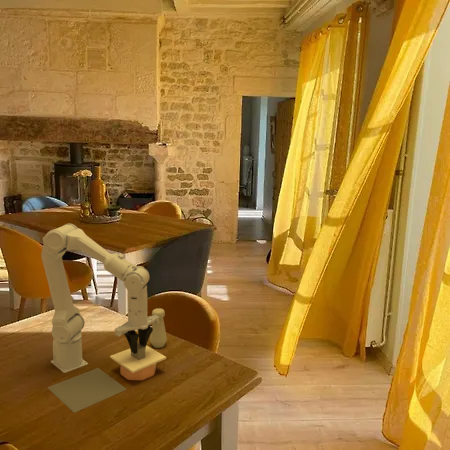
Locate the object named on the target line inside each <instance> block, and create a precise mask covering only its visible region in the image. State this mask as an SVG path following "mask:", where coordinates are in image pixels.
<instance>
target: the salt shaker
mask: <svg viewBox="0 0 450 450" xmlns="http://www.w3.org/2000/svg"><path fill="white" fill-rule="evenodd" d="M154 315H157V316H159V323H153V324H151V327H152V328H153V331H152V333H151V334H150V336H149V341H150V343H151V346H152V347H153V348H155V349H161V348H164V347H165V345H166V343H167V341H168V337H167V333H166V326H165V321H164V317H165V316H166V314H165V310H164V309H163V308H160V307H159V308H154V309H153V310H152V311H151V316H154Z"/></svg>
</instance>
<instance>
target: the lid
mask: <svg viewBox="0 0 450 450" xmlns="http://www.w3.org/2000/svg"><path fill="white" fill-rule="evenodd" d="M109 358H110V359H112V361H114V362H116V363H117V364H118V365H122V366H123V367H125V368H126V369H128V370H129V371H131V372H132V373H134V372H136V371H138V370H141V369H143V368H145V367H148V366H150V365H153V364H155V363H156V364H157V363H160V362H162V361H165V360H166V359H167V356H165V355H163V354H162V353H160V352H158V351H157V350H155V349H153V348H152V347H150V346H148V345H146V349H145V346H143V345H141V344H140V343H139V341H138V342H137V353H136V354H134V353H132V352H131V349H130V348H128V349H125V350H122V351H120V352H116V353H115V354H112V355H111V354H110V356H109Z"/></svg>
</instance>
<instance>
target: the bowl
mask: <svg viewBox="0 0 450 450" xmlns="http://www.w3.org/2000/svg"><path fill="white" fill-rule="evenodd" d="M119 365H120V364H119ZM156 369H157V363H155V364H153V365H150V366H148V367H145V368H143V369H141V370H138V371H136V372H134V373H132V372H131V371H129V370H128V369H126V368H125V367H123V366H122V365H120V370H119V371H120V375H121V376H122V377H124V378H125V379H126V380H128V381H144V380H146V379H149V378H151V377H154V376H155V373H156Z"/></svg>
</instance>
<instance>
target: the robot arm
mask: <svg viewBox="0 0 450 450" xmlns="http://www.w3.org/2000/svg"><path fill="white" fill-rule="evenodd" d="M42 243H43V244H42V245H43V246H42V250H41V256H40V257H41V261H42V265H43V268H44V272H45V277H46V280H47V284H48V288H49V294H50V297H51V300H52V306H53V307H54V309H53V310H54V313H53V316H52V319H51V325H52V328H51V335H52V338H53V341H52V356H53V357H52V358H53V359H52V360H50V363H51V364H53V365H54V366H55V367H56V368H57V369H59V370H60V371H61V372H62V373H63V374H66V373H69V372H71V371H74V370H76V369H80V368H82V367H84V366H87V365H89V363H88V362H87V361H86V360H84V359H83V346H82V345H83V344H82V341H83V340H82V330H83V329H84V327H85V326H86V325H85V324H86V323H85V322H86V321H85V318H84V317H83V315H82V314H81V312H80V309H79V308H78V307H77V306H75V305H74V301H73V298H72V293H71V291H70V286H69V282H68V277H67V274H66V269H65V265H64V262H63V256H64V255H65V253H67V251H75V250H76V251H77V250H80V251H82V252H83V253H86V254H87V255H88V256H91V258H93V259H95V260H97V261H99V262H101V263H102V264H103V269H104V270H105V271H106V272H107V273H110V275H113V276H114V277H115V278H117V279H118V280H119V281H121V282H123V285H124V287H125V289H126V292H127V295H126V296H127V321H126V322H124V323H123V324H121V325H120V326H117V327H115V328H114V335H115V336H116V337H122V335H123V336H124V337H125V338H126V340H127V342H128V346H129V349H131V352H132V353H134V354H136V353H137V342H138V343H140V344H141V345H143V346H145V349H146V346H148V341H149V340H150V335H151V333H152V331H153V328H152V324H153V323H159V316H157V315H154V316H152V315H150V316H148V285H147V283H148V282H149V281H150V276H151V275H150V273H149V271H148V270H147V269H146V268H145V267H144V266H141V265H136V264H133V263H132V262H130V261H129V260H128V259H126V258H124V256H125V255H123V254H122V253H119V254H118V253H116V252H115V253H110V252H109V251H108V250H106V249H105V248H104V247H102V246H101V245H100V244H98V243H97V242H95V241H94V240H93V239H92V238H91V237H89V236H88V235H87V234H86V233H85V232H84V230H83V229H81V228H79V227H77V226H76V225H75V224H73V223H65V224H64V225H62V226H60V227H57V228H55V229H50V230H49V231H47V233H46V234H45V235H44V236H43V237H42ZM136 330H137V331H136Z"/></svg>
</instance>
